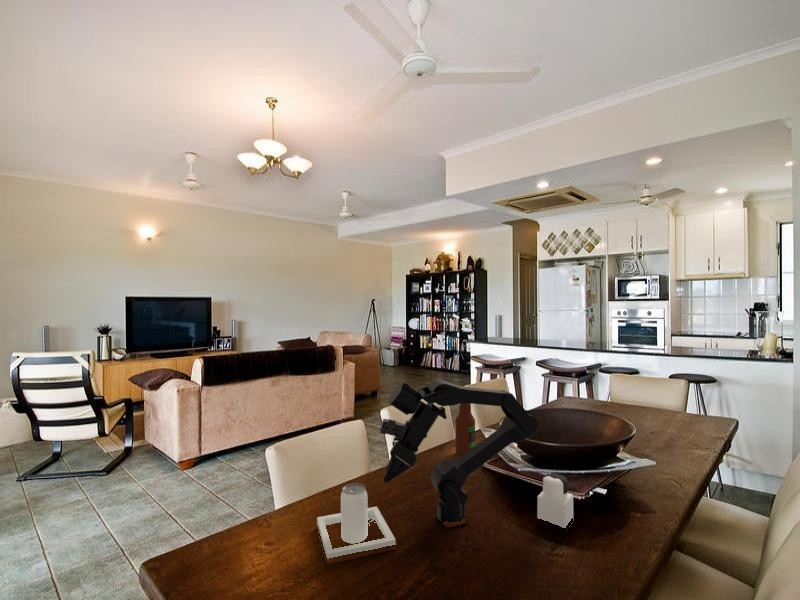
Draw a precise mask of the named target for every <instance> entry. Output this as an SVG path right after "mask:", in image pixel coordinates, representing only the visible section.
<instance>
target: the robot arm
mask: <svg viewBox="0 0 800 600" xmlns="http://www.w3.org/2000/svg"><path fill="white" fill-rule="evenodd" d="M460 403H471V405H472V404H474V405H483V406H495V407H500V408H501V410H502V412H503V414H504V415H505V417H504V418H503V419H502V421H501V424H500V426H499V428H497V429H496V430H495V431H494V432H493V433H491V434H489V435H488V436H487V437H486V438H484V439H483V440H481V442H479V443H477V444H475V447H474V448H472V449H471V450H470V451H468V452H467V453H466V454H464V455H463V456H462V457H461V456H459V457H458V458H457V459H453V460H451V459H450V458H449V457H448V456H446V457H445V458H444V459H443V460H442V461H440V462H439V463H437V464H435V465H434V468H433V469H432V471H431V475H430V480H431V484H432V485H433V486H434V488H435V489H436V491H437V493H438V494H439V495H438V502H437V503H436V514H437V517H436V518H437V519H438V521H439V520H440V521H441V522H445V521H448V522H457V521H461V520H462V518H465V519H466V503H467V500H468V494H467V493H466V492H465V491H464V489H463V487H464V485H465V483H466V481H467V480H468V477H469V476H470V475H471V474H473V473H474V472H475V471H477V470H478V469H479V468H481V467H482V466H484V464H486V463H488V461H490V460H491V459H493V458H494V457H495V456H496V455H498V454H499V453H500V452H501V451H503V450H504V449H506V448H507V447H508V446H510V445H511V444H514V443H519V442H522V441H525V440H527V439H529V438H532V437H533V436H534V435H535V434H536V433H537V431H538V428H539V427H538V425H539V424H538V421H537V419H536V417H534V416H533V415H531V414H529V413H528V411H527V410H526V409H525V408H524V407H523V406H522V404H520V403H519V401H518V400H517V399H516V397H515V395H514V394H513V393H512V392H509V391H507V390H505V389H500V390H497V389H487V388H478V387H468V386H461V385H458V384H455V383H452V382H450V381H446V380H443V379H434V380H432V381H431V382H430V383H429V384H428V385H426V386H424V387H421V388H417V389H415V388H414V387H412V386H411V385H410V384H409V383H407V382H406V381H405V380H403V381H401V383H400V384H398V385H397V386H396V387H395V388H394V389H393V390H392V392H391V393H390V395H389V397H388V401H387V404H388V405H390V406H392V407H394V408H396V410H398V411H400V412H401V413H403V414H404V415H406V416H407V415H411V416H410V418H409V419H407V420H406V421H405V422H404V423H402V422H399V421H396V420H395V419H391V418H389V419H388V418H383V419H382V422H381V426H380V430H379V433H380V434H382V435H390V436H393V441H392V443H391V444H392V447H391V449H390V452H389V454H390V458H389V461H388V464H387V466H386V467H385V468H386V469H385V472H386V473H385V475H384V477H383V482H385V483H386V484H387V483H389V482H390V481H392V480H394V479H395V478H396V477H398V476H399V475H401V474H402V473H404V472H406V471H407V470H409V469H411V467H414V465H415V464H416V462H417V460H418V459H417V452H418V451H419V447H420V445H421V444H422V443H423V441H424V440H425V439H426V438H427V437H428V433H429V431H430V430H431V429H432V427H433V425H434V424H435V422H436V420H437V419H438V417H441V418H442V419H443V420H447V419H448V417H447V414H446V408H445V407H450V406H456V405H460ZM436 404H437V405H438V406H437V405H436ZM440 521H439V522H440ZM441 522H440V523H441Z"/></svg>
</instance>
